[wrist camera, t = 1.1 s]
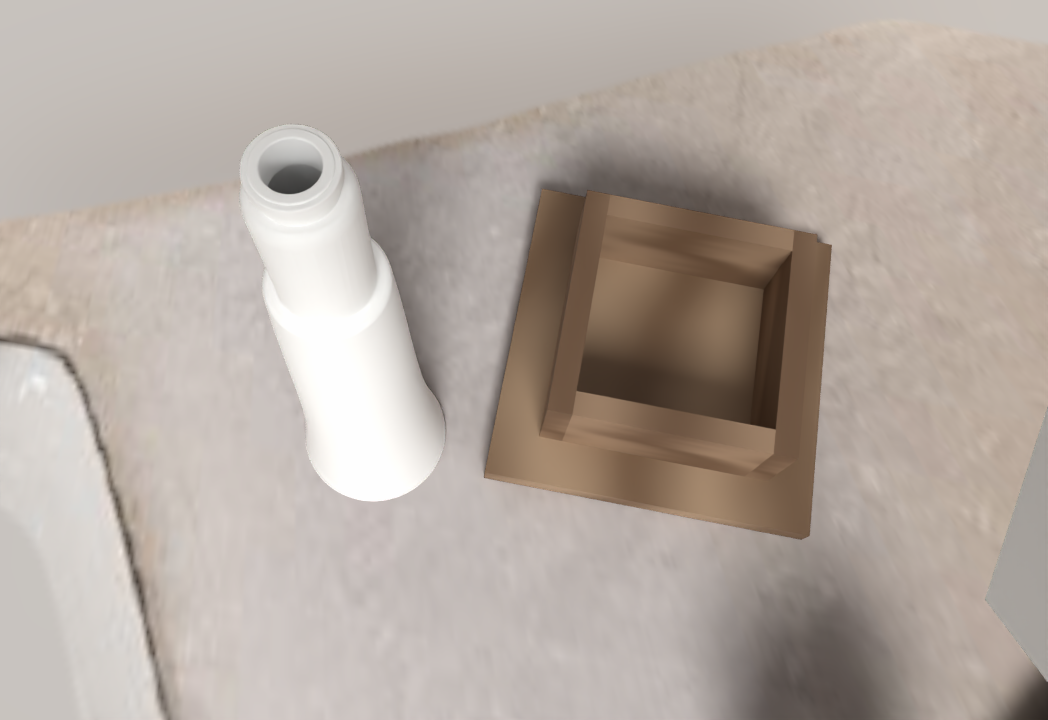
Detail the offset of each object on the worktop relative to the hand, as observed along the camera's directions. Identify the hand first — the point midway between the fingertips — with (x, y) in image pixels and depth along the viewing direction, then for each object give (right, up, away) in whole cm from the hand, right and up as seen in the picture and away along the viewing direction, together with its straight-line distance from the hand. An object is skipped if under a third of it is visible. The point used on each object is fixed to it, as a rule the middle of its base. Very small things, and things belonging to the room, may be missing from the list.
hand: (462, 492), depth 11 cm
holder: (+7, +2, +32) cm, 33 cm away
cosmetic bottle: (-6, -2, +31) cm, 31 cm away
